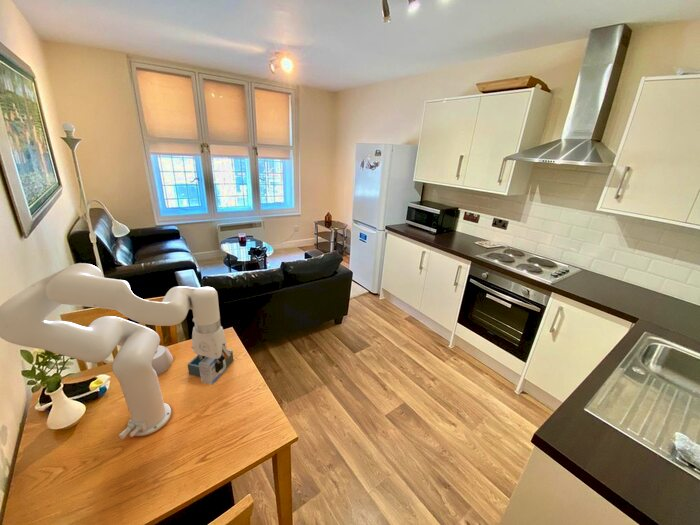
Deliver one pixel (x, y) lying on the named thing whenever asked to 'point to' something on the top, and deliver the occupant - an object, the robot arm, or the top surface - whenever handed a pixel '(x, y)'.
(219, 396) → the top surface
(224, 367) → the medicine box
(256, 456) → the top surface
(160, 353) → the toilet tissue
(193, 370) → the tub
